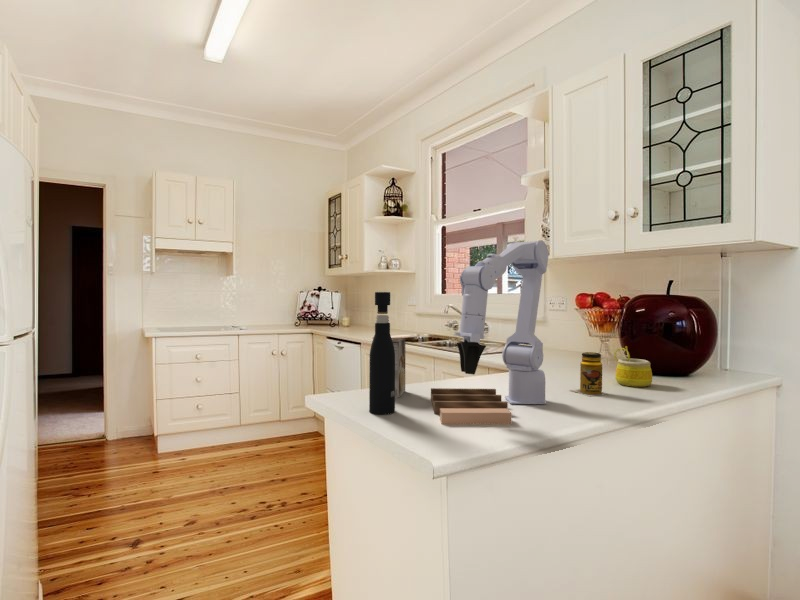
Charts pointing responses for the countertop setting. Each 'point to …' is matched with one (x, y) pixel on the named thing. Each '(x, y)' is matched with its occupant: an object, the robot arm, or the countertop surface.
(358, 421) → the countertop surface
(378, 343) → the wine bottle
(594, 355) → the condiment
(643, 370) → the yellow round container
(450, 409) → the clay strip
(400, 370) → the coffee box
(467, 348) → the robot arm
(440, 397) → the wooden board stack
